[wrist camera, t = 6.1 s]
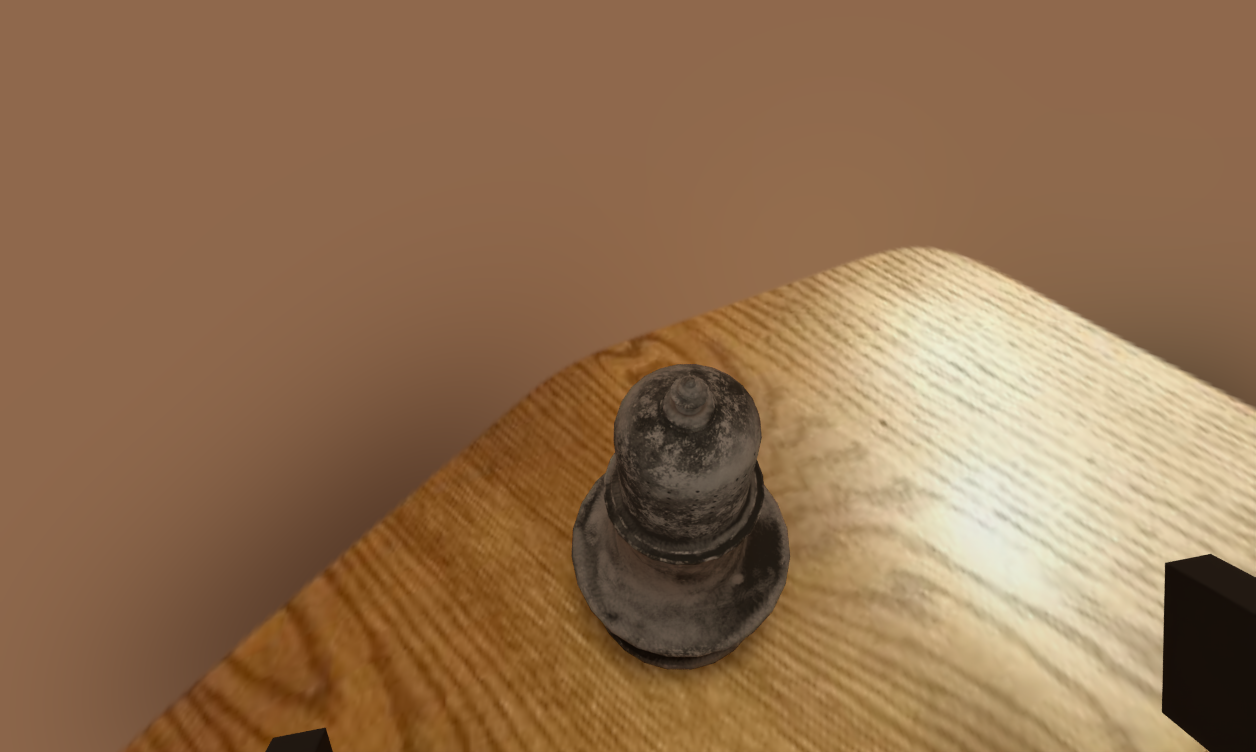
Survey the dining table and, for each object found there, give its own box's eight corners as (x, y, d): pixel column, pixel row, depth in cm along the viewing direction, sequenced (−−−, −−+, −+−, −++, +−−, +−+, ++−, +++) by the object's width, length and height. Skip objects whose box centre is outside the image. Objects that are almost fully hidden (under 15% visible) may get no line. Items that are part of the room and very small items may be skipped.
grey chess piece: (557, 530, 24) (479, 308, 13) (721, 466, 25) (764, 213, 14) (624, 714, 21) (588, 608, 11) (807, 633, 22) (938, 464, 11)
